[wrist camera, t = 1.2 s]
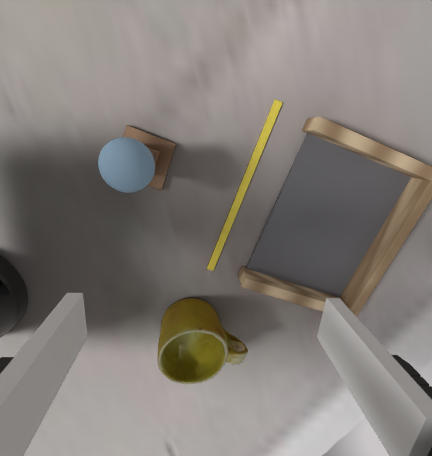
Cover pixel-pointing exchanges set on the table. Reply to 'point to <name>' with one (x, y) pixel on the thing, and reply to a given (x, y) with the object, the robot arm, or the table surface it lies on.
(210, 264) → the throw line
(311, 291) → the wooden u-shaped frame
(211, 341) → the mug
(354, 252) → the mat
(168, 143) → the tee
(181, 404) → the table surface
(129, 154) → the ball
